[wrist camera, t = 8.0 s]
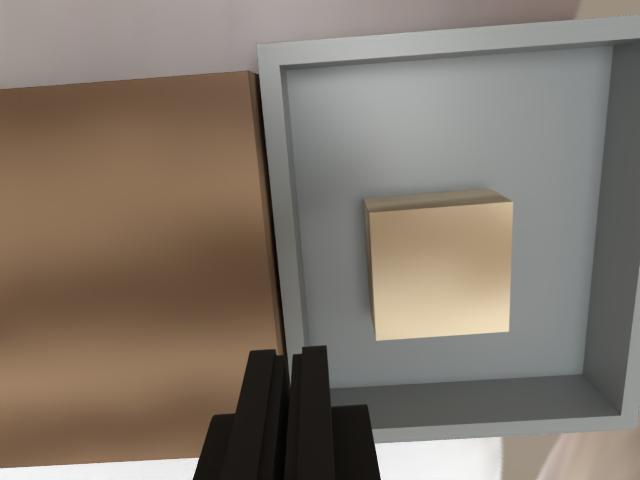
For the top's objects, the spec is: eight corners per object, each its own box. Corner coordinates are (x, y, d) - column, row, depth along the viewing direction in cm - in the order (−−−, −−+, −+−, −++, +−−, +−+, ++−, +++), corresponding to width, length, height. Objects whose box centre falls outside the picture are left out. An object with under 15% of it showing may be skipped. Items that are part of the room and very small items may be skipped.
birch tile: (513, 201, 20) (489, 188, 23) (369, 212, 20) (363, 198, 23) (509, 331, 22) (487, 304, 25) (376, 340, 22) (370, 312, 25)
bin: (269, 54, 22) (256, 44, 18) (620, 27, 22) (693, 10, 18) (300, 392, 27) (296, 447, 23) (586, 375, 27) (636, 429, 23)
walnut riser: (-67, 102, 23) (-197, 104, 17) (266, 77, 23) (247, 70, 17) (16, 393, 28) (-65, 471, 22) (295, 377, 27) (288, 452, 21)
